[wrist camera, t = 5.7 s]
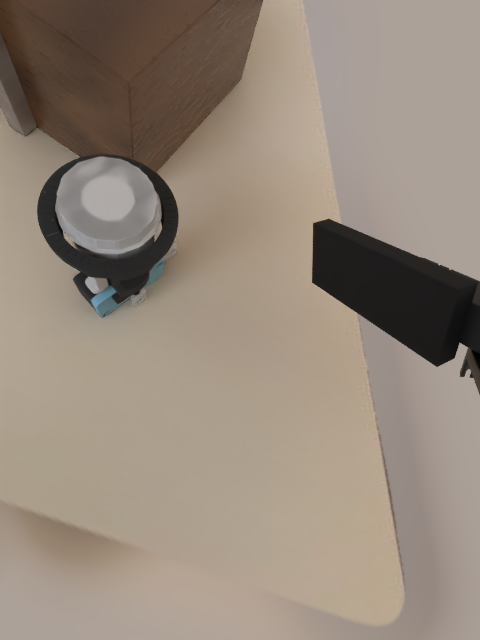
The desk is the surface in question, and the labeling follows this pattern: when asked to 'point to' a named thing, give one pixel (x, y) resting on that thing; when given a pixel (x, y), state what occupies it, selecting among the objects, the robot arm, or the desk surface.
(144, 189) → the push button
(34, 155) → the desk surface
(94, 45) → the box
